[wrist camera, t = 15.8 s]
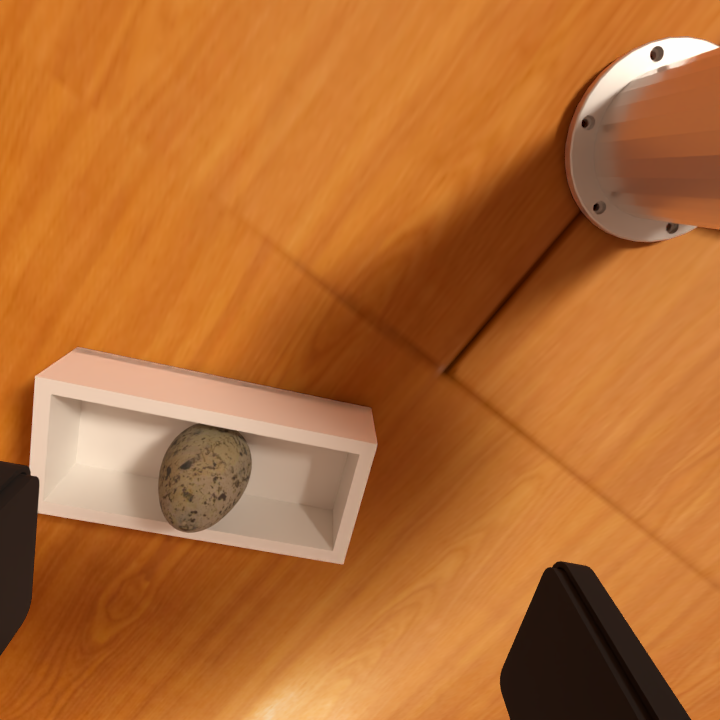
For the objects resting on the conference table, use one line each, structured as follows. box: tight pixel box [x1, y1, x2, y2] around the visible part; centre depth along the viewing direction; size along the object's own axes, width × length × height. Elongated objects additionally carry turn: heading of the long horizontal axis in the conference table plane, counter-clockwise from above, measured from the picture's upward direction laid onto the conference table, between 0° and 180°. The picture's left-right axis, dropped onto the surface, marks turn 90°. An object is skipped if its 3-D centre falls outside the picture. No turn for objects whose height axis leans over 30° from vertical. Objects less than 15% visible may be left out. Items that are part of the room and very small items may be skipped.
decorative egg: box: [158, 423, 252, 533], centre depth 36 cm, size 6×6×10 cm
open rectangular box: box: [29, 347, 378, 564], centre depth 39 cm, size 22×10×6 cm, turn 76°
